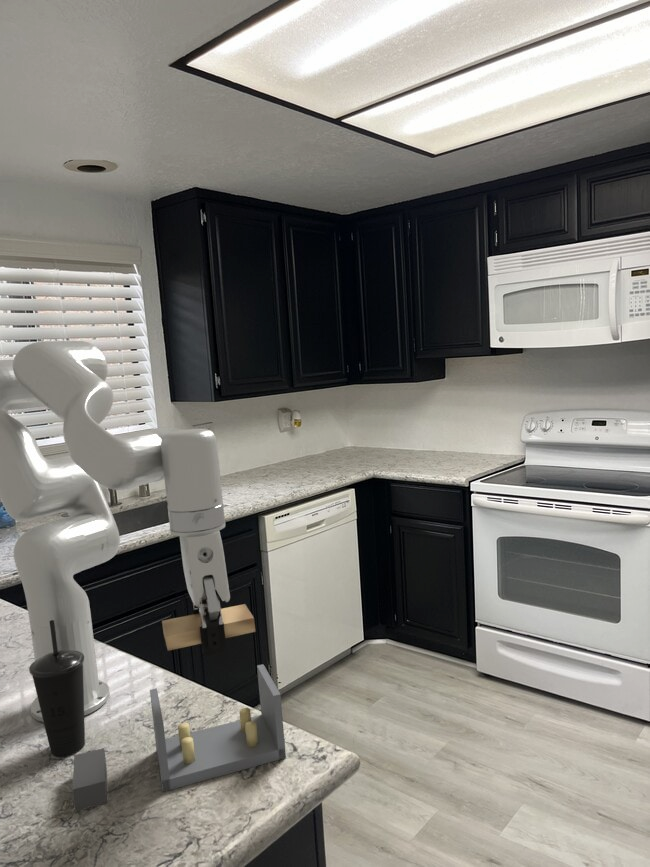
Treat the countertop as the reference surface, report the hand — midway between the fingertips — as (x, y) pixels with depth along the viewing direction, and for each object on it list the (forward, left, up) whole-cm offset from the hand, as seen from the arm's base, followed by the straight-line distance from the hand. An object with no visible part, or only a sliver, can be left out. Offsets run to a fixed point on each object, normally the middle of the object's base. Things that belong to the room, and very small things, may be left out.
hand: (210, 642), depth 92 cm
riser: (0, -18, -17) cm, 24 cm away
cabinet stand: (0, 0, -17) cm, 17 cm away
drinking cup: (-12, -21, -17) cm, 30 cm away
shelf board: (0, 0, +1) cm, 1 cm away
